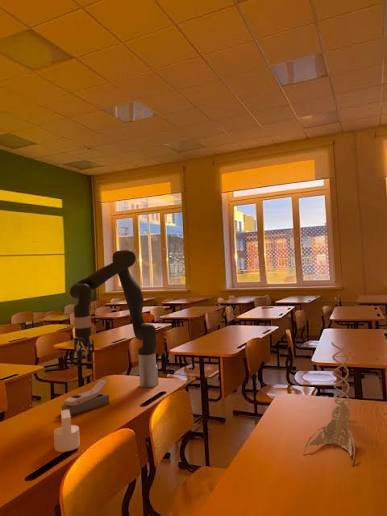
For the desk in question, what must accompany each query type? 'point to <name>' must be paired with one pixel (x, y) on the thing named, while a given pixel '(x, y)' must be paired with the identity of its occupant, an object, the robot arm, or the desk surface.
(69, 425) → the cylinder with rectangular tab
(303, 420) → the desk surface
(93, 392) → the mobile phone
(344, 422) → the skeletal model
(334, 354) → the dna model
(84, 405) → the pen tray
